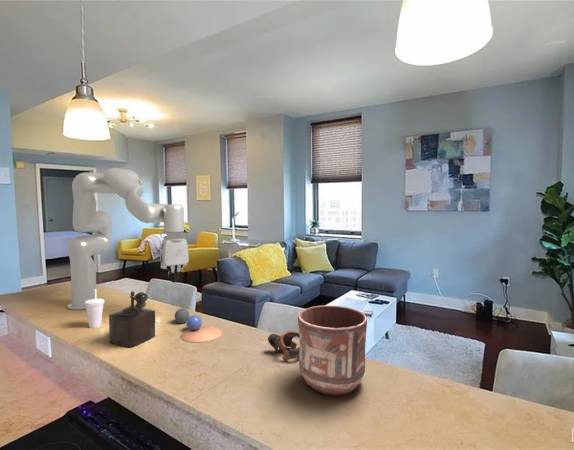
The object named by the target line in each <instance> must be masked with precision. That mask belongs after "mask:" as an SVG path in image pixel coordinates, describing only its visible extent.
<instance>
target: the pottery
mask: <svg viewBox="0 0 574 450" xmlns="http://www.w3.org/2000/svg"><path fill="white" fill-rule="evenodd" d="M297 325H298V326H297V327H298V333H299V337H298V338H299V347H300V352H299V356H298V365H299V371H300V373H301V376H302V377H303V379H304V380H305V383H306V384H307V385H308V386H309V387H310V388H311V389H312V390H314V391H315V392H317V393H320V394H322V395H324V396H325V395H326V396H329V397H331V396H333V397H339V396H340V397H341V396H345V395H348V394H350V393H351V392H352V391H354V390H355V389H356V388H357V387H359V384H360V383H361V381H362V380H363V377H364V375H365V372H366V343H367V342H366V341H367V340H366V339H367V328H368V317H367V315H366V314H365V313H364V312H362V311H360V310H358V309H355V308H352V307H348V306H342V305H334V304H333V305H329V304H327V305H324V304H323V305H316V306H311V307H308V308H305V309H303V310H301V311H299V312H298V315H297Z"/></svg>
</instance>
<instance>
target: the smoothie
mask: <svg viewBox="0 0 574 450" xmlns="http://www.w3.org/2000/svg"><path fill="white" fill-rule="evenodd" d="M96 295H97V288H96V289H95V299H90V300H87V301H85V305H86V309H85V310H86V314H87V319H88V325H89V328H90V329H95V328H96V329H97V328H100V327H101V326H102V320H103V313H104V311H103V310H104V304H105V299H104V298H101V297H100V298H97V296H98V295H97V296H96Z"/></svg>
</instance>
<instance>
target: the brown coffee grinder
mask: <svg viewBox="0 0 574 450" xmlns="http://www.w3.org/2000/svg"><path fill="white" fill-rule="evenodd" d="M129 298H130V305H129V306H127V307H125V308H123V309H122V310H119V311H116V312H114V313H111V314H110V313H109V315H108V329H109V330H108V332H109V334H108V335H109V341H108V343H109V344H113V345H116V346H121V347H125V348H133V347H134V348H135V347H136V346H140V345H141V344H143V343H146V342H148V341H150V340H152V339H154V338H155V337H156V311H155V310H153V309H148V308H145V307H146V305H147V303H146V301H147V300H148V298H149V296H148V294H147V293H146V292H137V293H136V292H135V291H134V290H132V291H131V292H130V296H129ZM135 302H136V303H135Z"/></svg>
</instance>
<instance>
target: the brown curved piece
mask: <svg viewBox="0 0 574 450" xmlns="http://www.w3.org/2000/svg"><path fill="white" fill-rule="evenodd" d="M296 337H297V338H299V332H297V331H293V330H290V331H288V330H287V331H285V332H283V333H282V335H280V334H279V335H278V334H276V333H271V334H269V336H268V337H267V340H268V341H267V342H268V344H269V345H270V346H271V347H272V348H273V349H274V351H275V352H277V351H278V350H279V351H282V352H283V353H282V354H283V356H282V360H283V361H284V362H288V361H289V360H292V359H295V358H299V352H300V346H299V347H297V346H298V343H297V342H294V341H293V339H294V338H296ZM287 348H289V350H288V349H287Z"/></svg>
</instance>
